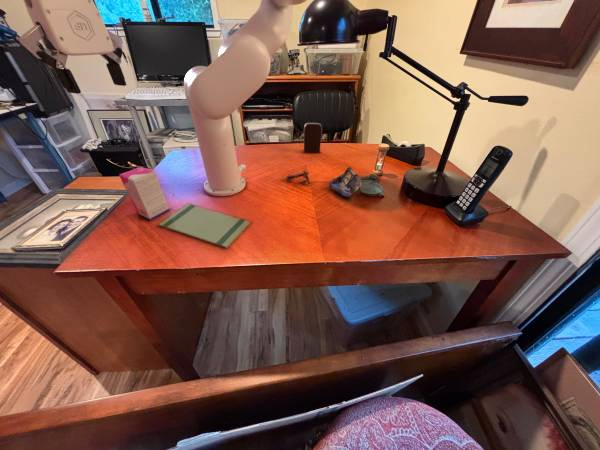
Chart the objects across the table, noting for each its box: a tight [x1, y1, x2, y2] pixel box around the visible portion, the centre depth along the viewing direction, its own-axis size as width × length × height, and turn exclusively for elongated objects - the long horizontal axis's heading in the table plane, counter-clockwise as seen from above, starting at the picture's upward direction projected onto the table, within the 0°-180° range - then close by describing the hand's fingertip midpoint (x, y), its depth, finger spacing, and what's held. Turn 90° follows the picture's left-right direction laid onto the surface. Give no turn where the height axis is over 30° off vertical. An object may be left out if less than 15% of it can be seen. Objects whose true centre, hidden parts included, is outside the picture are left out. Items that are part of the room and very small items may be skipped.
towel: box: [158, 203, 251, 249], centre depth 60 cm, size 10×20×1 cm, turn 68°
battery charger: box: [303, 121, 323, 154], centre depth 95 cm, size 7×4×11 cm, turn 91°
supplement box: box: [118, 166, 170, 222], centre depth 60 cm, size 6×6×12 cm
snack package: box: [328, 166, 363, 200], centre depth 74 cm, size 12×6×12 cm
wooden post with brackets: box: [285, 170, 311, 185], centre depth 77 cm, size 2×8×4 cm, turn 66°
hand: (99, 88), depth 50 cm, fingers open, 9 cm apart
